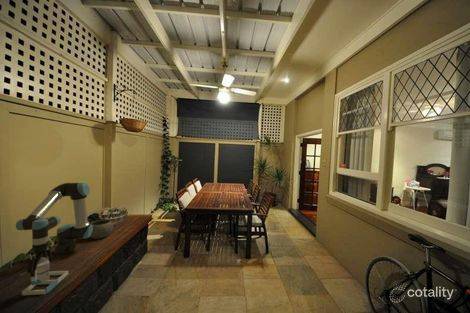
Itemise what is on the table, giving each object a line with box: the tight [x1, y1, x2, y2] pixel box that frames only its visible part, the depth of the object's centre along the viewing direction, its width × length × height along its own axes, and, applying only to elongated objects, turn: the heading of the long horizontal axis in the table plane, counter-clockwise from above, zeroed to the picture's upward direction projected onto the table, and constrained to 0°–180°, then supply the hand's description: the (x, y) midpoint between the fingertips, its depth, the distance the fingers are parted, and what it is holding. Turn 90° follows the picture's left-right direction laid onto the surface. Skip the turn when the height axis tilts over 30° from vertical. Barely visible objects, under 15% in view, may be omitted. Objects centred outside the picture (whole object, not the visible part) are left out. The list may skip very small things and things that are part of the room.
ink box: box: [30, 257, 51, 285], centre depth 130 cm, size 9×5×15 cm, turn 141°
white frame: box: [21, 270, 69, 296], centre depth 135 cm, size 20×14×4 cm
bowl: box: [89, 219, 114, 240], centre depth 210 cm, size 23×23×15 cm
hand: (40, 275), depth 130 cm, fingers closed on ink box, 9 cm apart
